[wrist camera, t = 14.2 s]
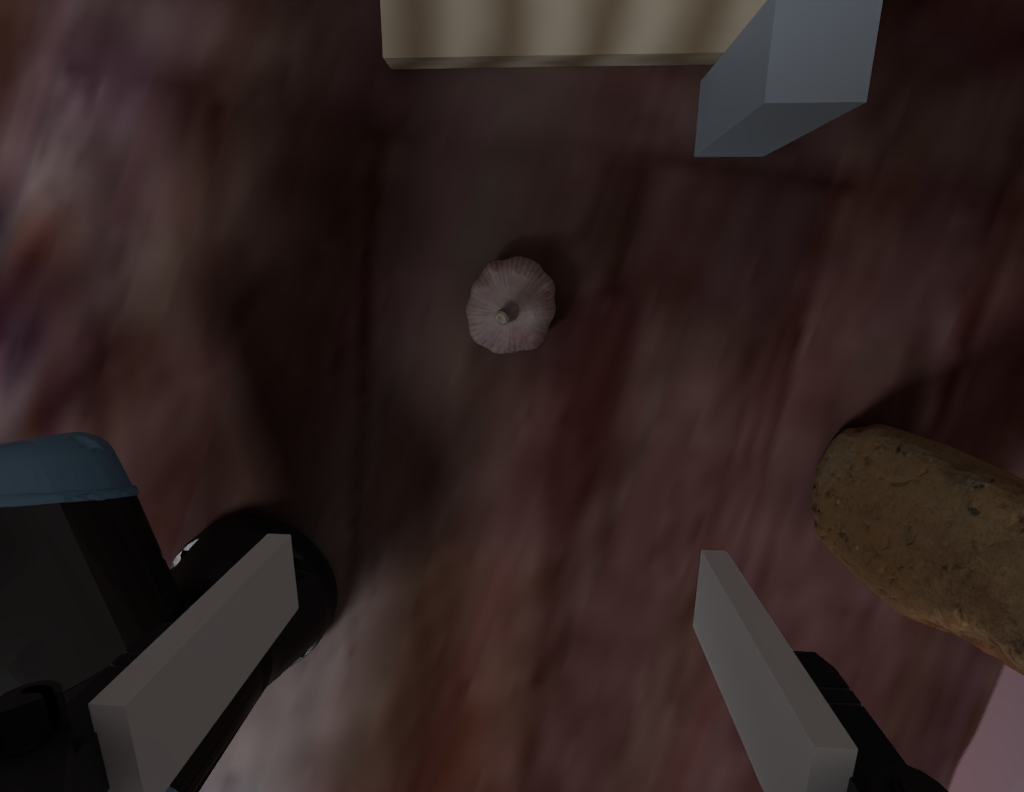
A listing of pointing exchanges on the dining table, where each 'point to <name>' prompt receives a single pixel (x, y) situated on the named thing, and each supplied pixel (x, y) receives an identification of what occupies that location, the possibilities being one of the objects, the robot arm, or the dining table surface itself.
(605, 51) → the board
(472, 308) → the garlic bulb
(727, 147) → the hammer
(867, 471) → the stone
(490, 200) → the dining table surface
